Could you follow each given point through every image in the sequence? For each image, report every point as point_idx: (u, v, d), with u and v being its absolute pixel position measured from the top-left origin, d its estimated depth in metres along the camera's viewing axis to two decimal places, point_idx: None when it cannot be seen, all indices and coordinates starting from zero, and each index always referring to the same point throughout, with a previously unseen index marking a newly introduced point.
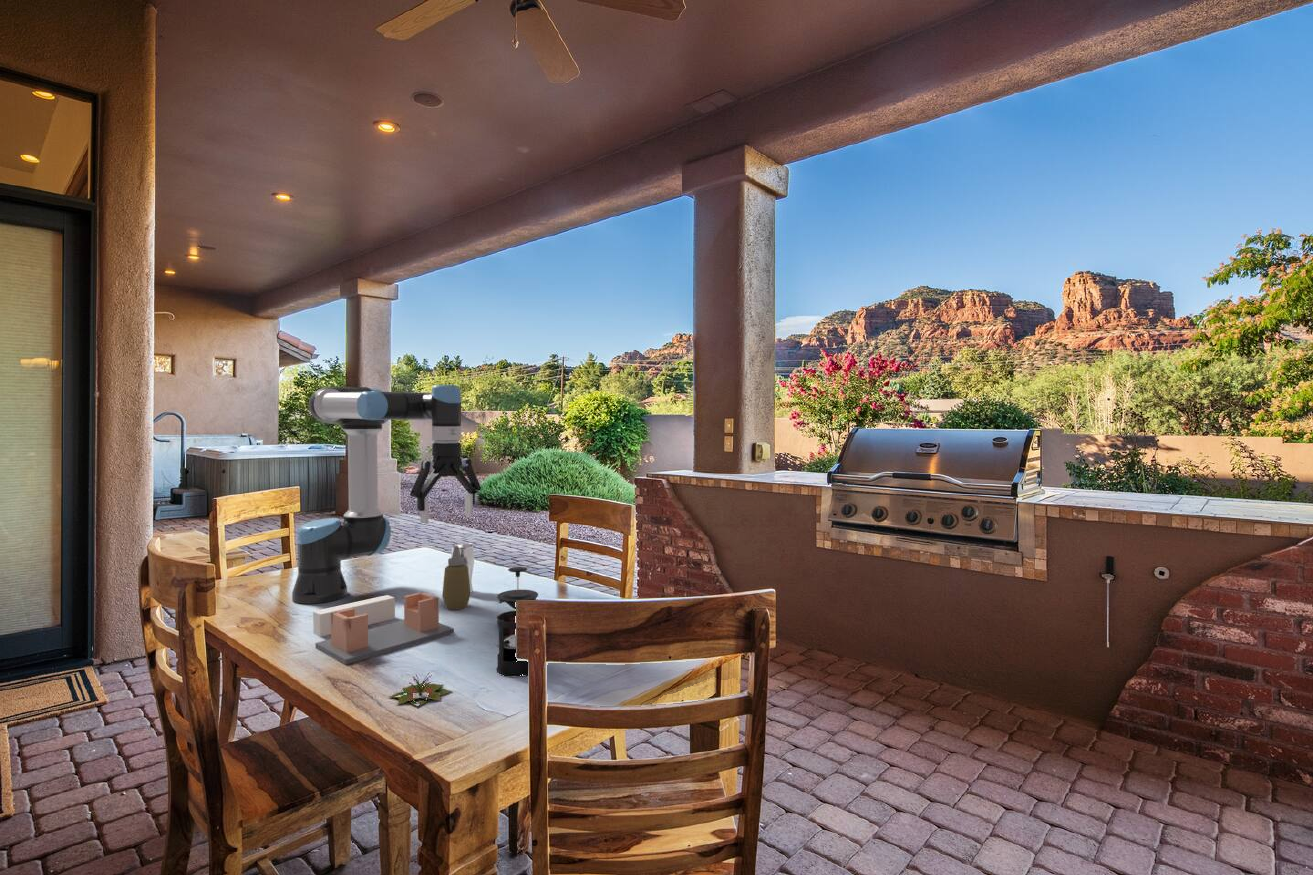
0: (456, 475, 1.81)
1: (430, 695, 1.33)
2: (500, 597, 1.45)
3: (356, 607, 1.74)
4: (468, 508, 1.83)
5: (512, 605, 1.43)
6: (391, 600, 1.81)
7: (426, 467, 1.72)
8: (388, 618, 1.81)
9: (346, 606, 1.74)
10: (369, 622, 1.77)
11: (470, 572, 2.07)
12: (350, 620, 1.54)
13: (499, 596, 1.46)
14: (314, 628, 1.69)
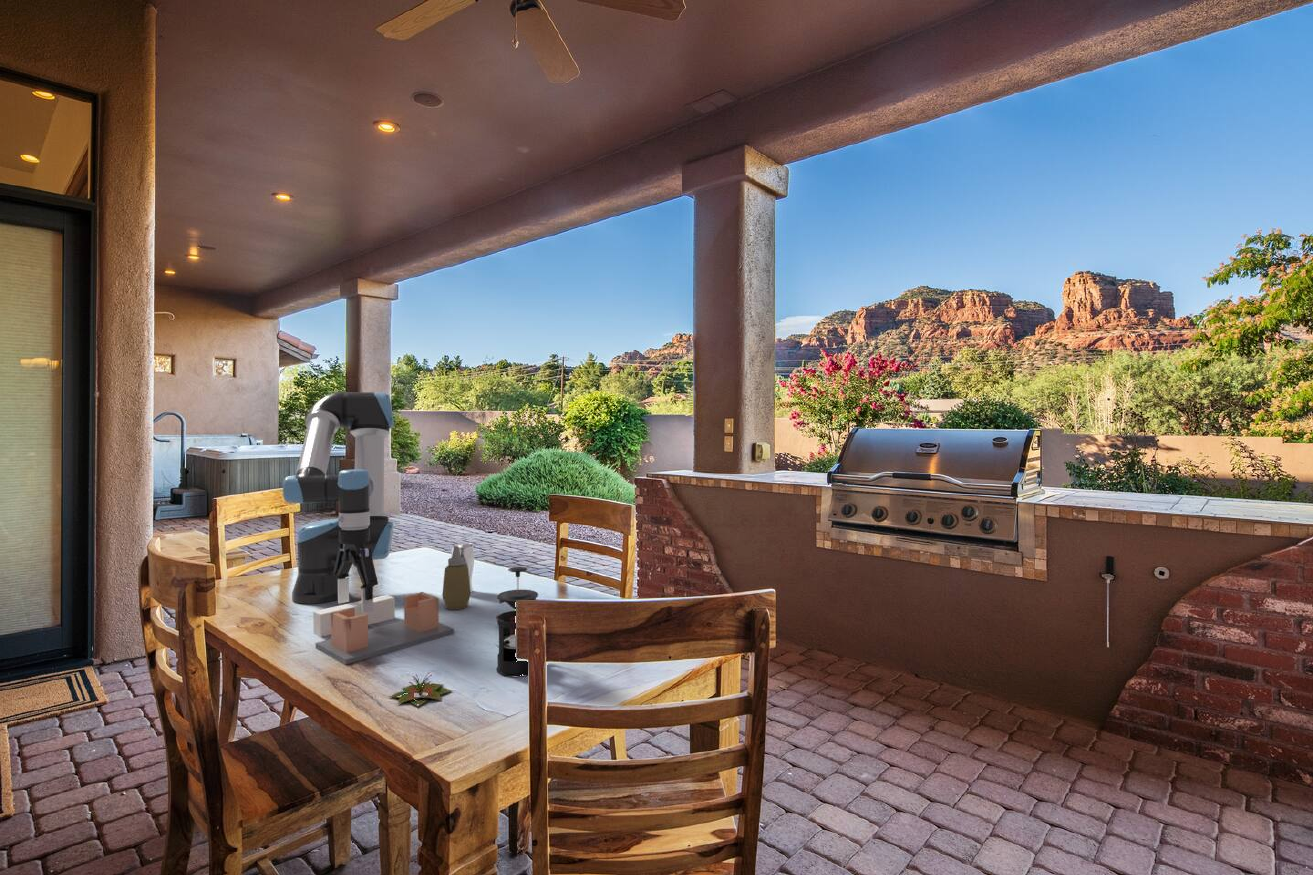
0: None
1: (430, 694, 1.33)
2: (500, 597, 1.45)
3: (356, 607, 1.74)
4: None
5: (512, 605, 1.43)
6: (391, 600, 1.81)
7: (338, 549, 1.78)
8: (388, 618, 1.81)
9: (346, 606, 1.74)
10: (369, 622, 1.77)
11: (471, 572, 2.07)
12: (350, 620, 1.54)
13: (499, 596, 1.46)
14: (314, 628, 1.69)
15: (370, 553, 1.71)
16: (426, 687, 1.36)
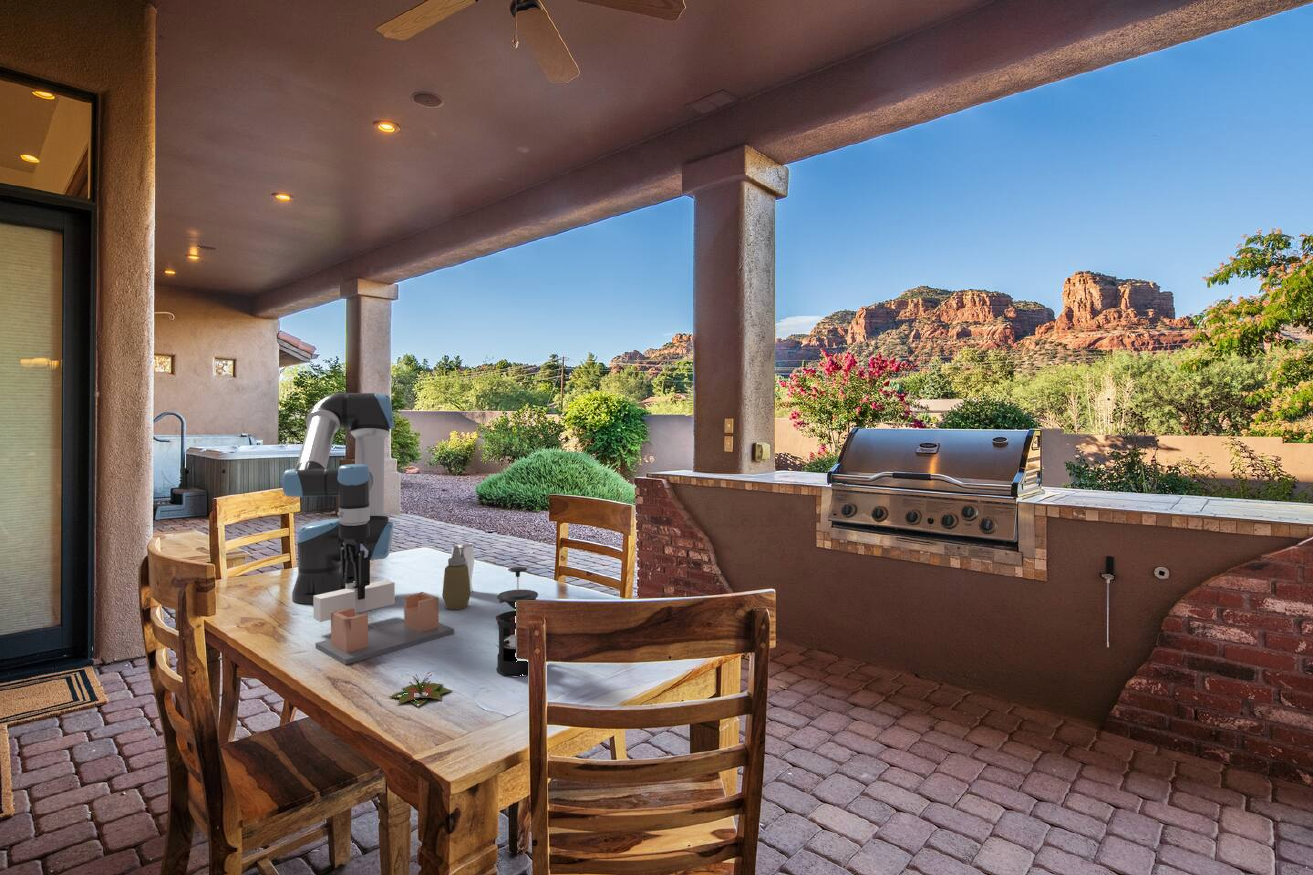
0: None
1: (430, 694, 1.33)
2: (500, 597, 1.45)
3: None
4: None
5: (512, 605, 1.43)
6: (391, 585, 1.82)
7: (340, 549, 1.78)
8: (388, 603, 1.81)
9: (346, 590, 1.74)
10: (369, 607, 1.77)
11: (470, 572, 2.07)
12: (350, 620, 1.54)
13: (499, 596, 1.46)
14: (314, 612, 1.69)
15: (369, 555, 1.72)
16: (426, 687, 1.37)
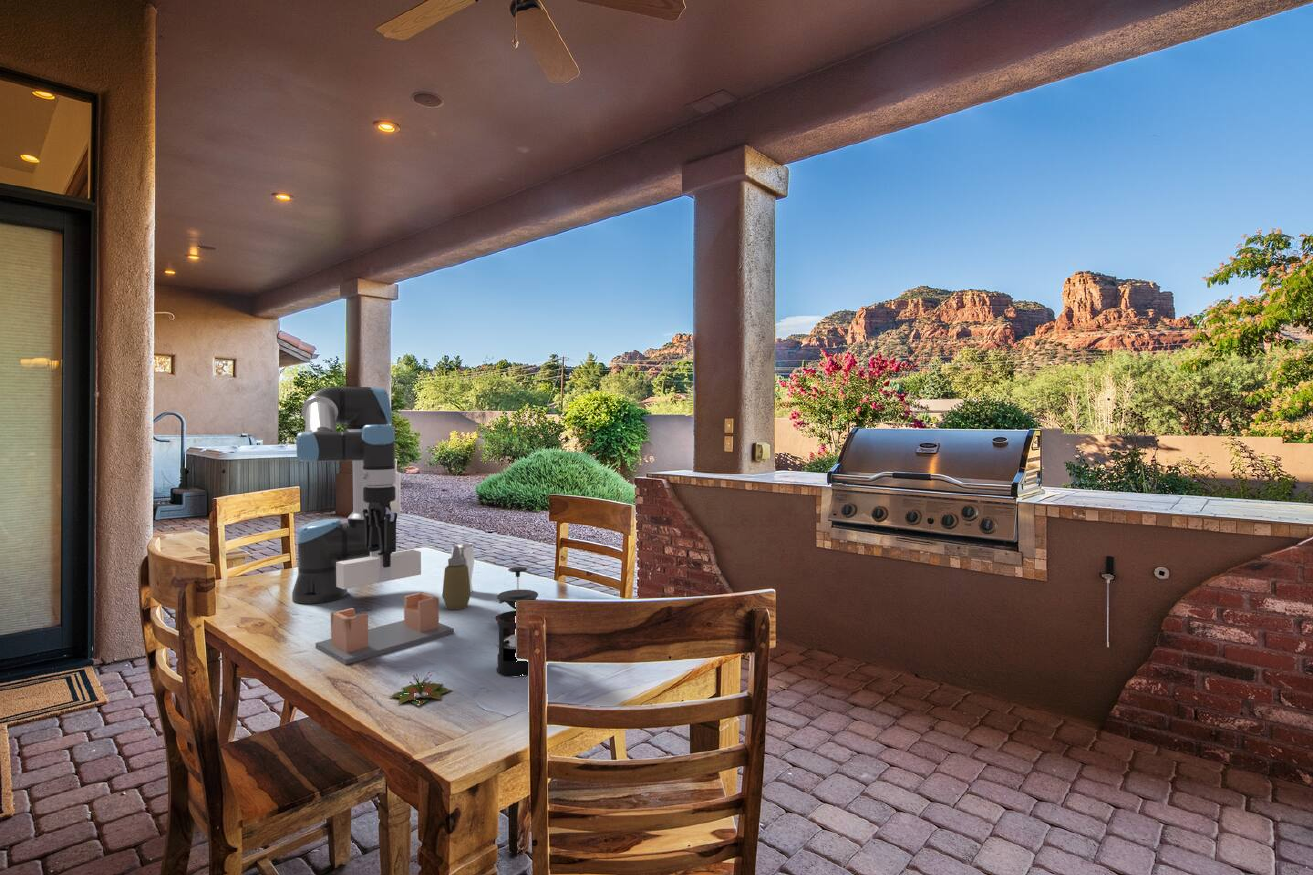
0: None
1: (430, 694, 1.33)
2: (500, 597, 1.45)
3: None
4: None
5: (512, 605, 1.43)
6: (417, 554, 1.71)
7: (364, 516, 1.68)
8: (414, 573, 1.70)
9: (370, 558, 1.63)
10: (394, 576, 1.66)
11: (470, 572, 2.07)
12: (350, 620, 1.54)
13: (499, 596, 1.46)
14: (337, 579, 1.59)
15: (395, 519, 1.62)
16: (426, 687, 1.37)
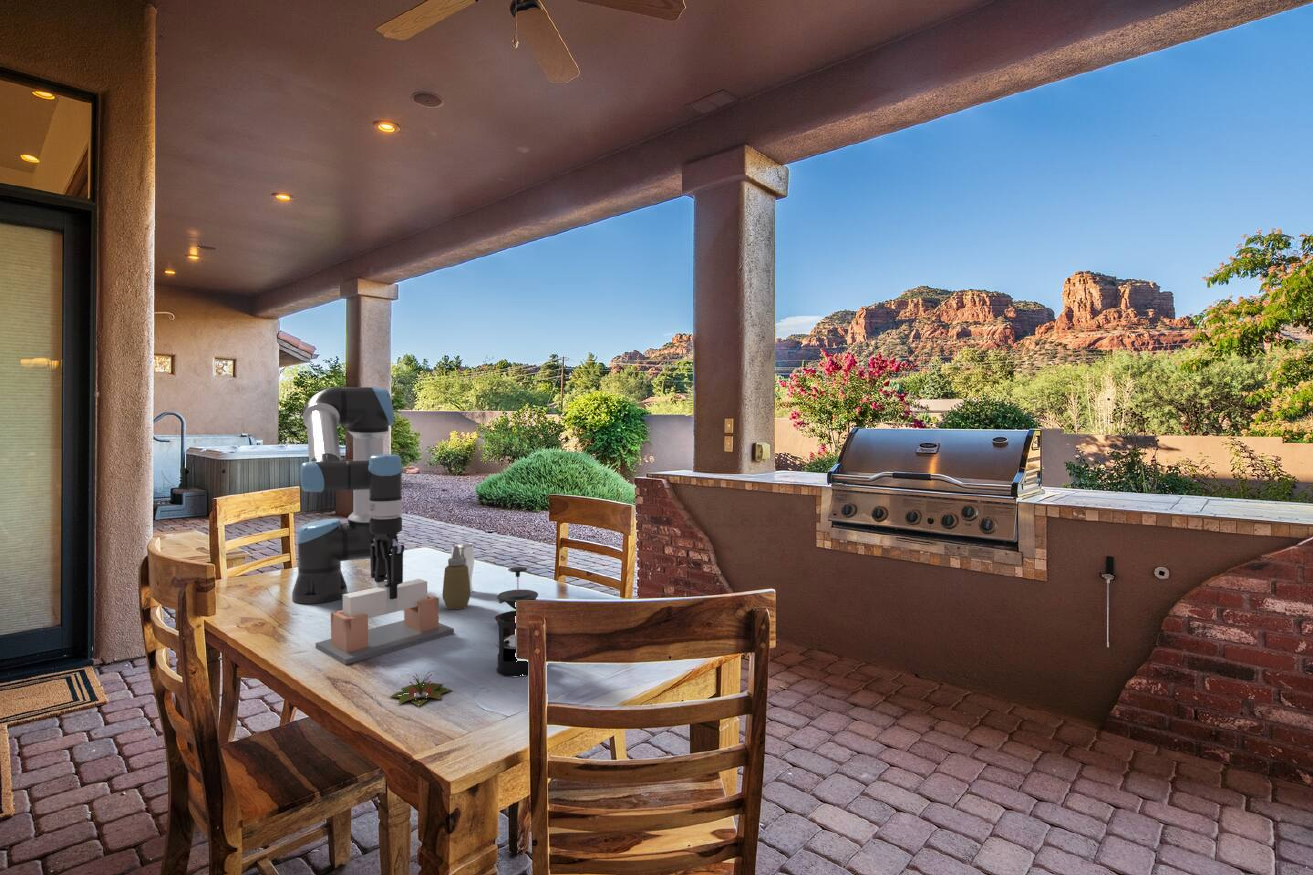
0: None
1: (431, 694, 1.33)
2: (500, 597, 1.45)
3: None
4: None
5: (512, 605, 1.43)
6: (424, 584, 1.70)
7: (370, 546, 1.67)
8: None
9: (377, 589, 1.62)
10: (401, 607, 1.65)
11: (470, 572, 2.07)
12: (350, 620, 1.54)
13: (499, 596, 1.46)
14: (343, 612, 1.58)
15: (402, 551, 1.60)
16: (426, 687, 1.37)
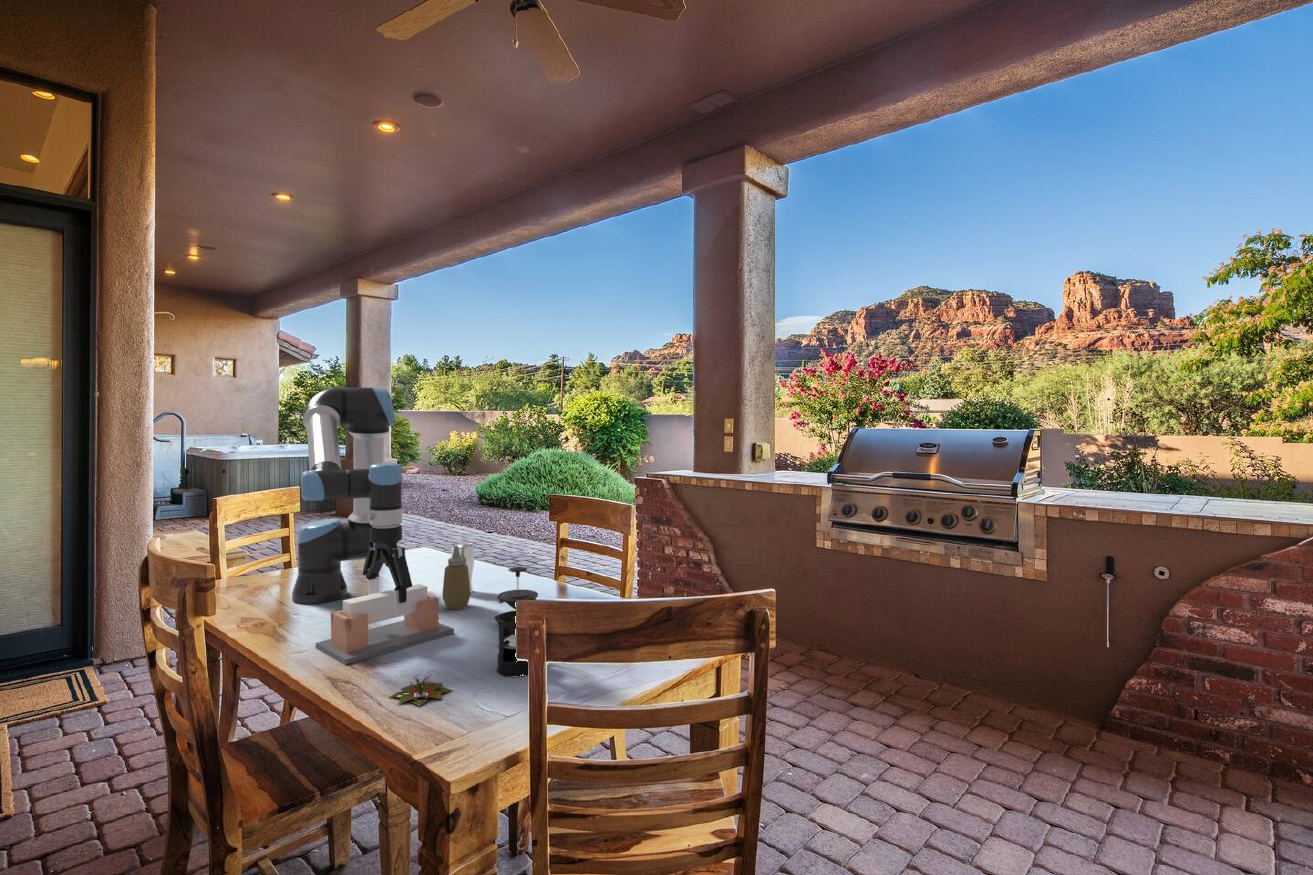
0: None
1: (431, 694, 1.34)
2: (500, 597, 1.45)
3: (388, 596, 1.62)
4: None
5: (512, 605, 1.43)
6: (424, 589, 1.70)
7: (368, 547, 1.67)
8: None
9: (377, 595, 1.62)
10: None
11: (470, 572, 2.07)
12: (350, 620, 1.54)
13: (499, 596, 1.46)
14: None
15: (403, 553, 1.60)
16: (426, 686, 1.37)
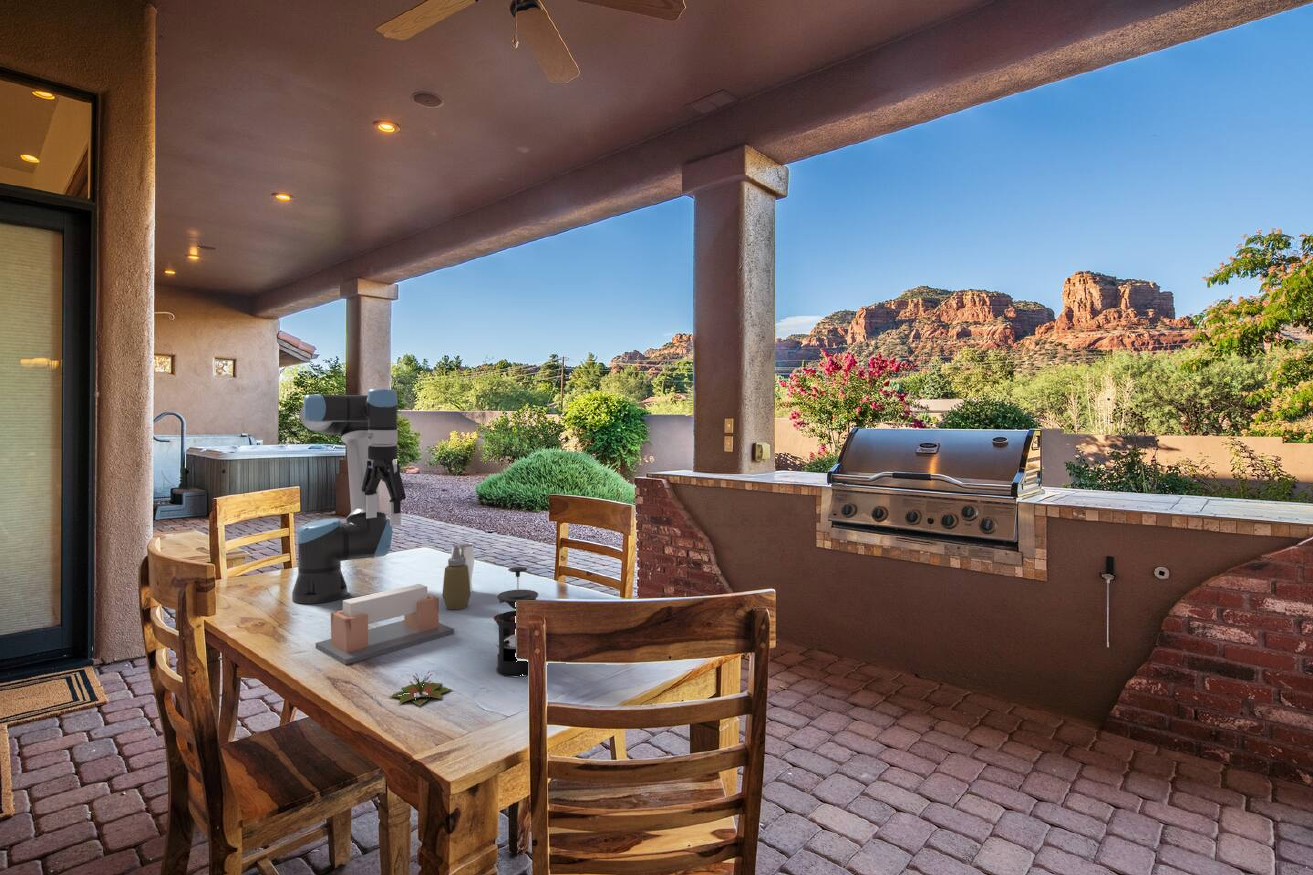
0: None
1: (431, 693, 1.34)
2: (500, 597, 1.45)
3: (388, 596, 1.62)
4: None
5: (512, 605, 1.43)
6: (424, 589, 1.70)
7: (367, 466, 1.84)
8: None
9: (377, 595, 1.62)
10: (401, 612, 1.65)
11: (471, 572, 2.07)
12: (350, 620, 1.54)
13: (499, 596, 1.46)
14: None
15: (398, 469, 1.77)
16: (426, 686, 1.37)
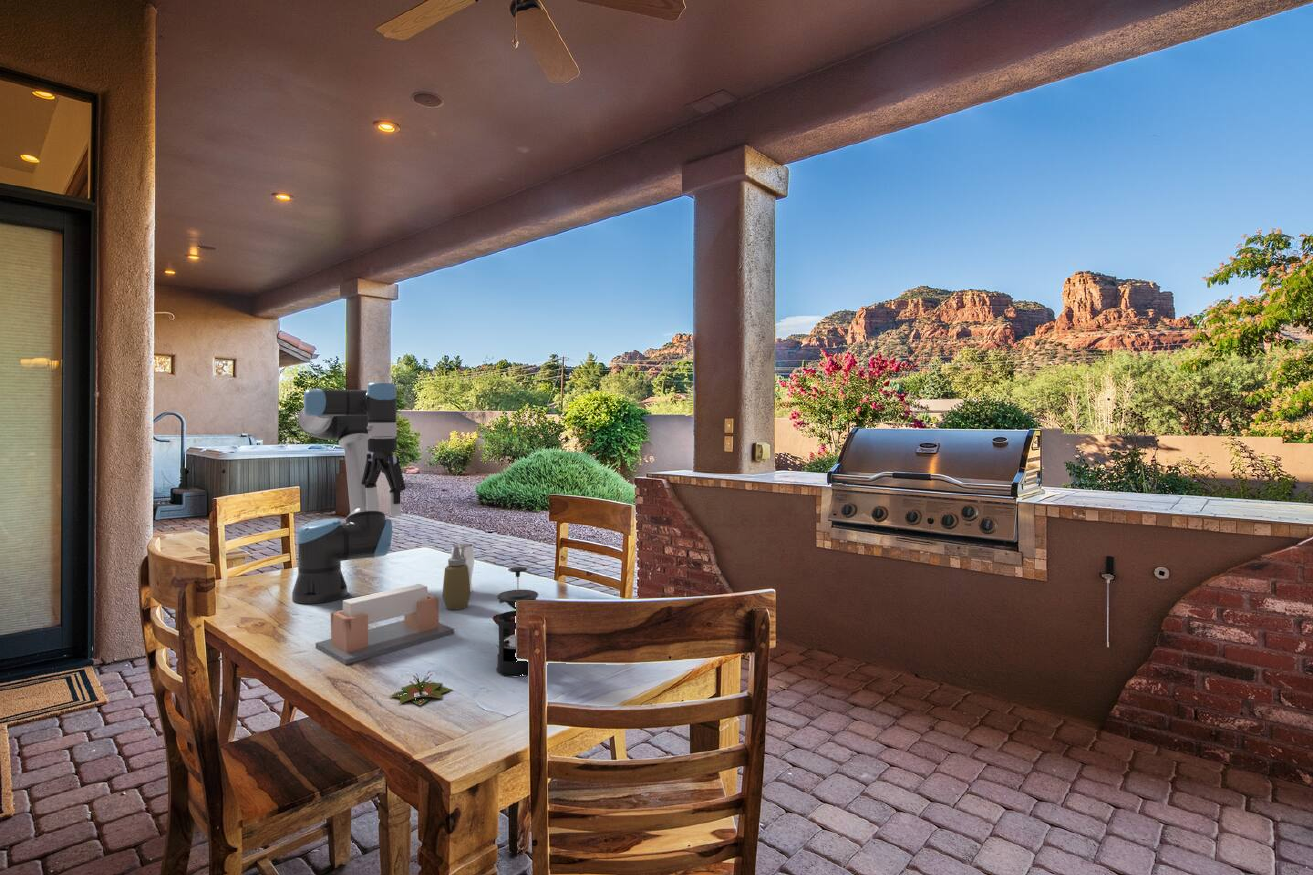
0: None
1: (431, 693, 1.34)
2: (500, 597, 1.45)
3: (388, 596, 1.62)
4: None
5: (512, 605, 1.43)
6: (424, 589, 1.70)
7: (367, 459, 1.88)
8: None
9: (377, 595, 1.62)
10: (401, 612, 1.65)
11: (471, 572, 2.07)
12: (350, 620, 1.54)
13: (499, 596, 1.46)
14: None
15: (398, 460, 1.80)
16: (426, 686, 1.37)
